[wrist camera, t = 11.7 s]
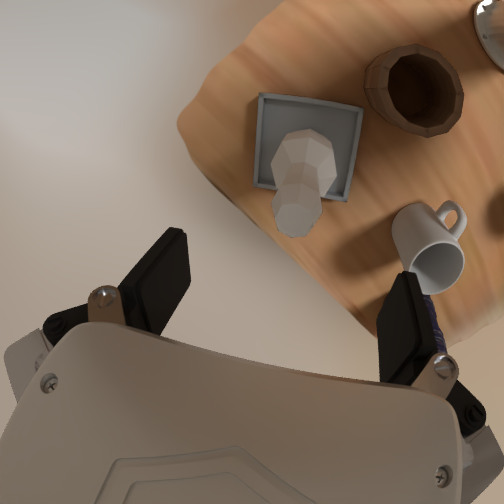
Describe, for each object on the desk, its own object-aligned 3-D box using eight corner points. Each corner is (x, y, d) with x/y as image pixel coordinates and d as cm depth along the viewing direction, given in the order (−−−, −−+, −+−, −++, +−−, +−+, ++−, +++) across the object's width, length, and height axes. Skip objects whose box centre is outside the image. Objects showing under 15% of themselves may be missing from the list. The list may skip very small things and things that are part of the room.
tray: (262, 92, 33) (259, 92, 31) (361, 107, 31) (364, 108, 29) (256, 180, 40) (252, 186, 38) (345, 195, 38) (346, 202, 36)
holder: (367, 45, 26) (382, 33, 18) (436, 66, 24) (467, 65, 17) (360, 114, 31) (372, 122, 24) (427, 132, 30) (454, 147, 22)
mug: (417, 258, 41) (435, 304, 32) (380, 234, 40) (393, 279, 31) (460, 204, 34) (492, 241, 25) (424, 173, 33) (455, 204, 24)
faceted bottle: (335, 127, 32) (358, 182, 14) (327, 172, 36) (333, 272, 18) (286, 118, 33) (245, 161, 15) (281, 163, 37) (239, 254, 19)
